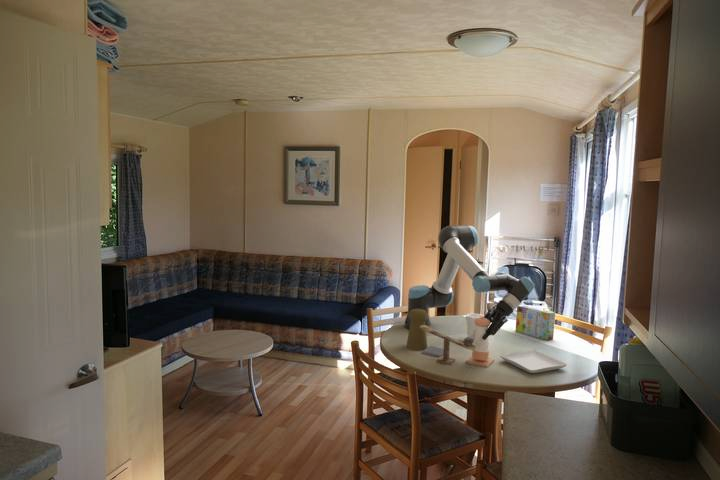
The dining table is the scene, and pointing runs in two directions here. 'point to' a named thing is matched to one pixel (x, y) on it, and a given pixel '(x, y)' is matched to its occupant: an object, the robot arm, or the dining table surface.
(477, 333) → the pepper shaker
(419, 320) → the pepper shaker
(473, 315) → the foam cup
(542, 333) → the snack box
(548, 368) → the salad plate
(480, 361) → the orange square coaster
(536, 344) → the dining table surface
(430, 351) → the dish slate
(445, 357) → the balance
